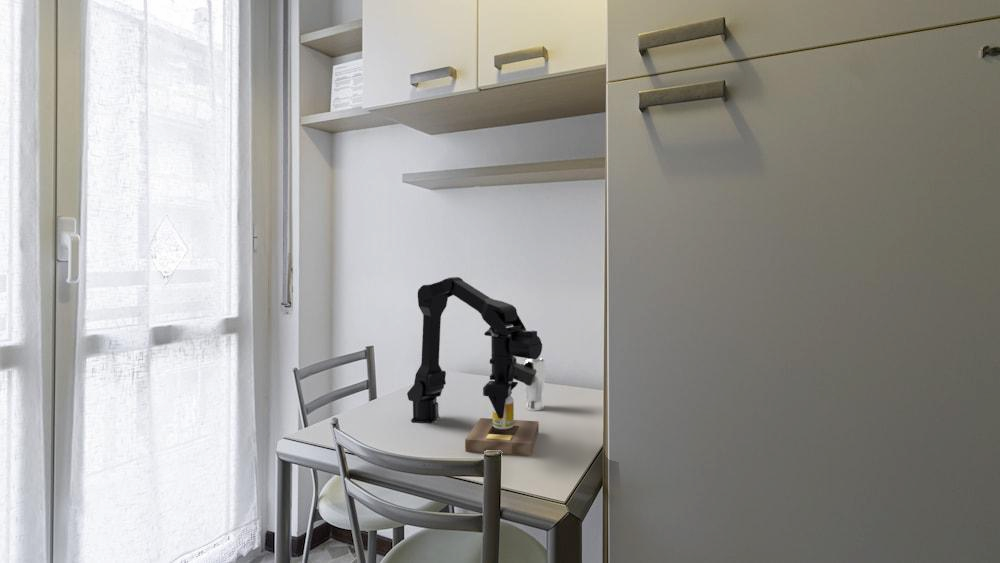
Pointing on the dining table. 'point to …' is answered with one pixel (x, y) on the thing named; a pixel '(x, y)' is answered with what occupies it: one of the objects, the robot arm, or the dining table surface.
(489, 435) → the socket block
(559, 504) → the dining table surface
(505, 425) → the supplement bottle
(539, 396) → the beer glass
